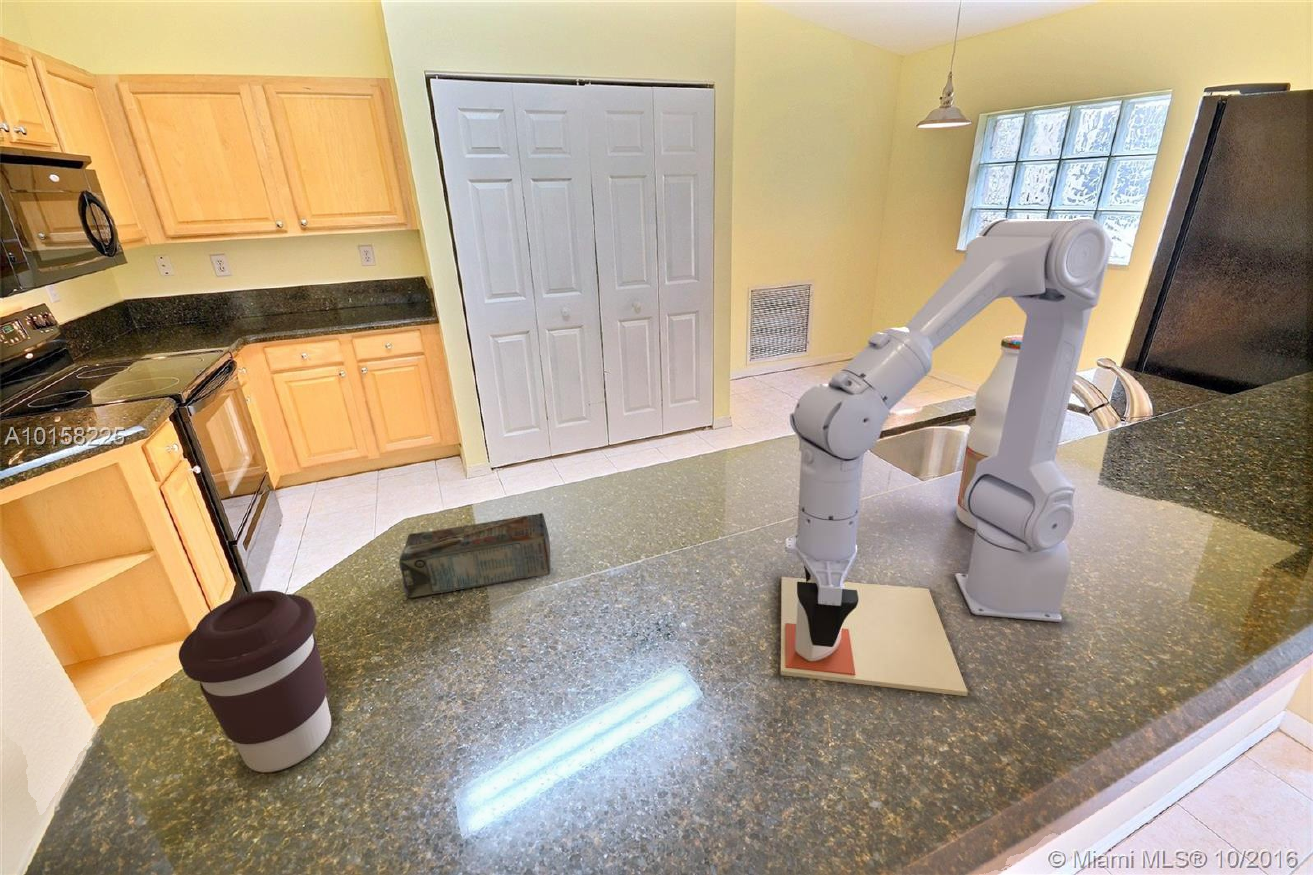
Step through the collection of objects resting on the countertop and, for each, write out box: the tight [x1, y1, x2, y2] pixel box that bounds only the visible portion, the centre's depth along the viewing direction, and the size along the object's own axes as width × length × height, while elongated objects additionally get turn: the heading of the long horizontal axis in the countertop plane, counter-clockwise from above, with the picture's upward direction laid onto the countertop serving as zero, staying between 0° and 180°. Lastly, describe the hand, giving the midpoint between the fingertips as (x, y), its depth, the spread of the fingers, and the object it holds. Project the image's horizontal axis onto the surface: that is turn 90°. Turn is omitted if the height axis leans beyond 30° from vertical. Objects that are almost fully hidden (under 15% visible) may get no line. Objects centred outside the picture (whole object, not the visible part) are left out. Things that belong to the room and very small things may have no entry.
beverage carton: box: [398, 512, 551, 599], centre depth 80 cm, size 8×19×7 cm, turn 103°
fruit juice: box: [956, 334, 1023, 531], centre depth 83 cm, size 9×9×28 cm
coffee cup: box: [178, 589, 332, 773], centre depth 53 cm, size 10×10×15 cm
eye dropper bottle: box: [795, 576, 845, 661], centre depth 61 cm, size 4×6×12 cm
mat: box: [780, 576, 969, 697], centre depth 66 cm, size 18×17×1 cm
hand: (820, 619), depth 62 cm, fingers open, 7 cm apart
